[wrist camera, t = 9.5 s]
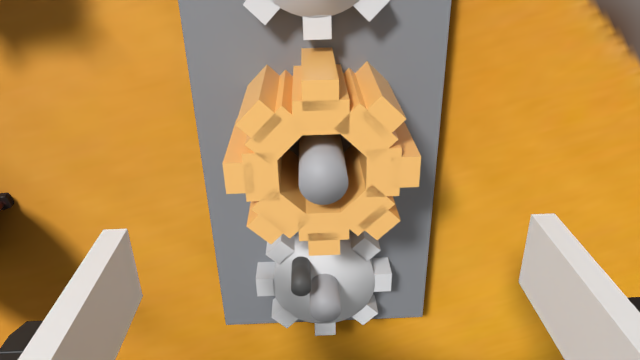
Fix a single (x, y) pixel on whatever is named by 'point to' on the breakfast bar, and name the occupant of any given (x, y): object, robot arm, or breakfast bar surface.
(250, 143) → the orange gear
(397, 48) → the gear board
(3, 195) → the mate gourd
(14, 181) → the breakfast bar surface
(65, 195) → the breakfast bar surface
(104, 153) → the breakfast bar surface
